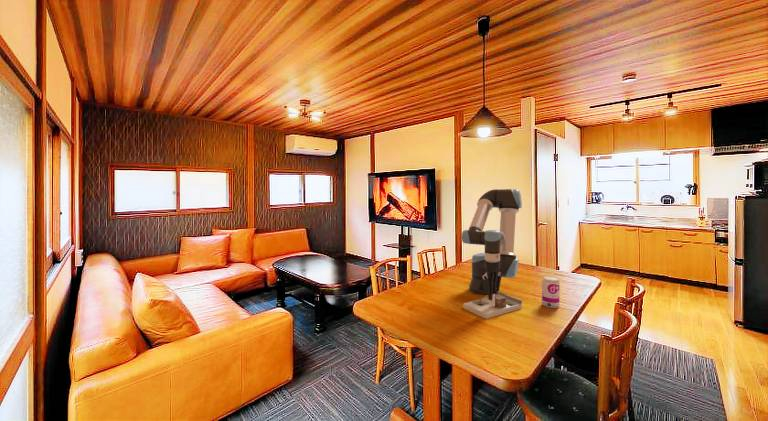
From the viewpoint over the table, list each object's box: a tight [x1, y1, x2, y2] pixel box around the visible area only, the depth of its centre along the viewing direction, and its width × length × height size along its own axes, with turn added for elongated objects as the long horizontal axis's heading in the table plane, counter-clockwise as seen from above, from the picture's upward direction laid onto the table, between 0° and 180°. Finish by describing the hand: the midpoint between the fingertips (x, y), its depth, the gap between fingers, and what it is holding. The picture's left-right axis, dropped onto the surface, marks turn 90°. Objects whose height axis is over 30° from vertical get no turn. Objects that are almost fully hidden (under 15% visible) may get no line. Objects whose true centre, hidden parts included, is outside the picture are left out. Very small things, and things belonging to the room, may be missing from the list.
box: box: [462, 291, 523, 320], centre depth 162 cm, size 26×16×4 cm, turn 118°
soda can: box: [541, 276, 561, 309], centre depth 163 cm, size 8×8×15 cm
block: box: [495, 294, 506, 309], centre depth 158 cm, size 5×5×5 cm
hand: (491, 305), depth 156 cm, fingers closed
